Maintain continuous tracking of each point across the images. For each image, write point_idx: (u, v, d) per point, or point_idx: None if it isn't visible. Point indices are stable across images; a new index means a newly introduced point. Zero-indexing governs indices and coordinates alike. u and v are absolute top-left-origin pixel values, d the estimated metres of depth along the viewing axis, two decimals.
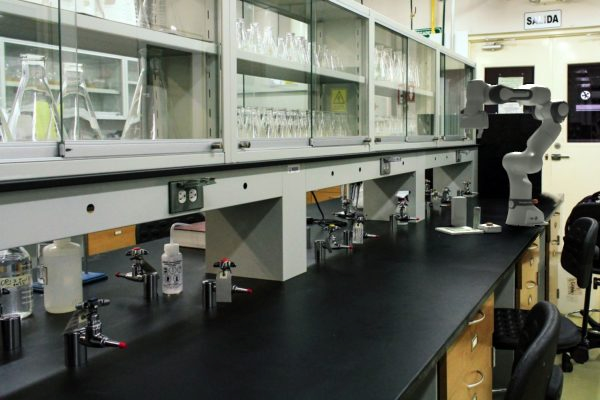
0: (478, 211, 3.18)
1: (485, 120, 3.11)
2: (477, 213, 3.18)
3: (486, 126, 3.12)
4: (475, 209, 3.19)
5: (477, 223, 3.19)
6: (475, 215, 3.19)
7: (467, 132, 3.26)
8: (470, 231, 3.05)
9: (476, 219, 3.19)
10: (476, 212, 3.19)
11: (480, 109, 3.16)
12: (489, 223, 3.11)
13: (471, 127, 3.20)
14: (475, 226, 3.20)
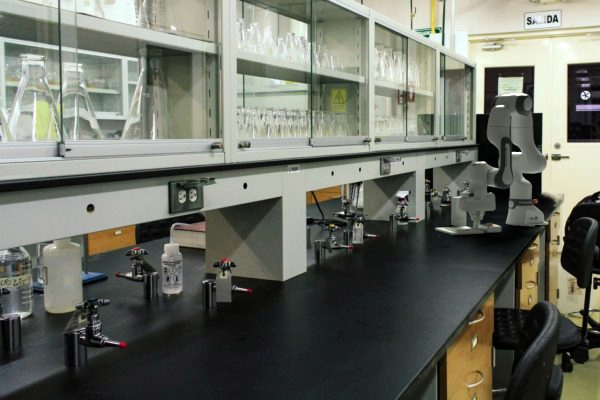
0: (478, 211, 3.18)
1: None
2: (477, 213, 3.18)
3: None
4: None
5: (477, 223, 3.19)
6: (475, 215, 3.19)
7: None
8: (470, 231, 3.05)
9: (476, 219, 3.19)
10: (476, 212, 3.19)
11: None
12: (489, 223, 3.11)
13: (479, 209, 3.18)
14: (475, 226, 3.20)
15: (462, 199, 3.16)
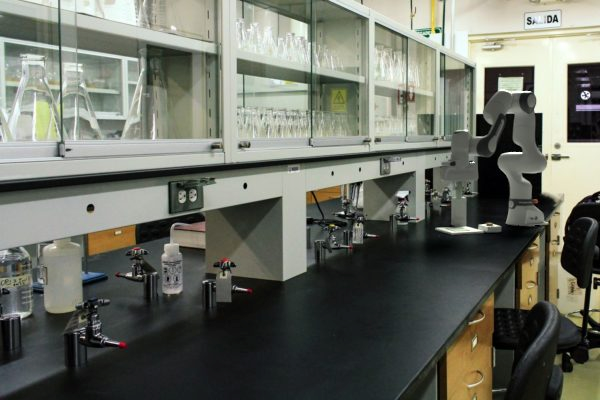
0: (460, 181, 3.06)
1: None
2: (459, 183, 3.06)
3: None
4: None
5: (459, 193, 3.07)
6: (457, 185, 3.07)
7: None
8: (470, 231, 3.05)
9: (458, 189, 3.07)
10: (458, 182, 3.06)
11: None
12: (489, 223, 3.11)
13: (461, 179, 3.06)
14: (457, 197, 3.08)
15: (443, 168, 3.04)
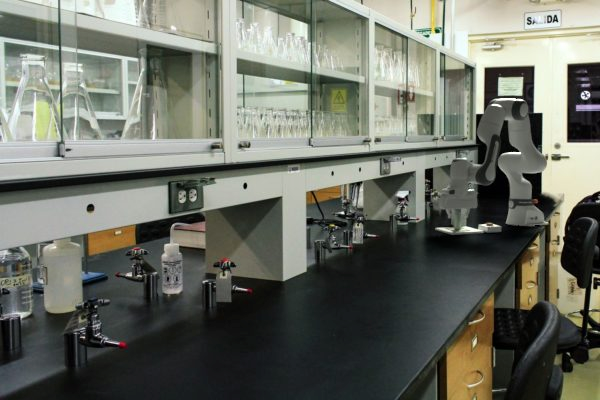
0: (459, 211, 3.08)
1: None
2: (458, 213, 3.08)
3: None
4: (456, 209, 3.09)
5: (458, 224, 3.09)
6: (456, 215, 3.09)
7: None
8: (470, 231, 3.05)
9: (457, 220, 3.09)
10: (457, 212, 3.08)
11: None
12: (489, 223, 3.11)
13: (461, 207, 3.08)
14: (456, 227, 3.09)
15: (442, 196, 3.06)
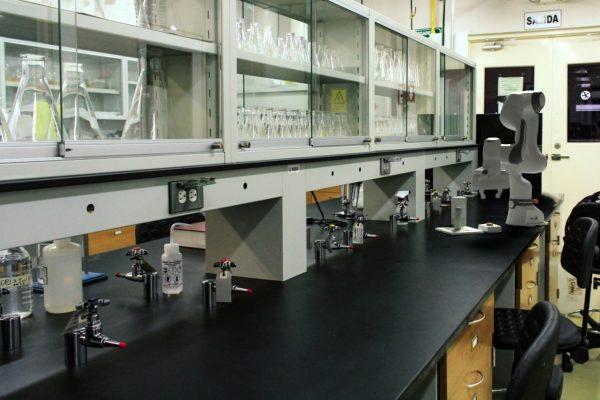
0: (459, 211, 3.08)
1: None
2: (458, 213, 3.08)
3: None
4: (456, 209, 3.09)
5: (458, 224, 3.09)
6: (456, 215, 3.09)
7: None
8: (470, 231, 3.05)
9: (457, 219, 3.09)
10: (457, 212, 3.08)
11: None
12: (489, 223, 3.11)
13: (493, 187, 3.08)
14: (456, 227, 3.09)
15: (475, 177, 3.06)
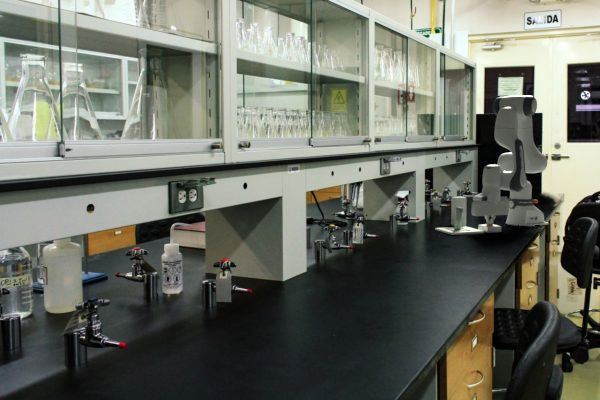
0: (460, 211, 3.08)
1: None
2: (459, 213, 3.08)
3: None
4: (458, 209, 3.08)
5: (459, 224, 3.09)
6: (457, 215, 3.09)
7: None
8: (470, 231, 3.05)
9: (458, 219, 3.09)
10: (458, 212, 3.08)
11: None
12: (489, 224, 3.11)
13: (493, 214, 3.09)
14: (457, 227, 3.09)
15: (475, 203, 3.07)
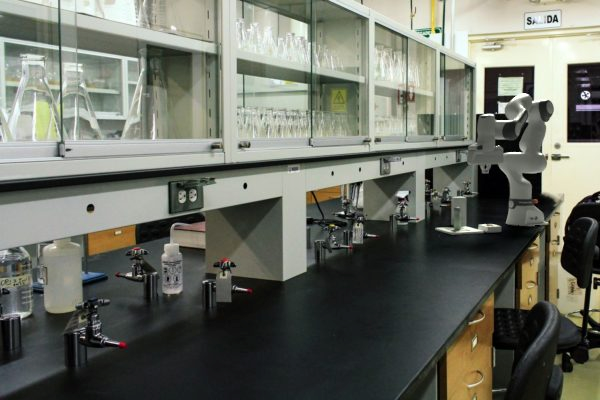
0: (459, 211, 3.08)
1: None
2: (458, 213, 3.08)
3: None
4: (455, 209, 3.08)
5: (458, 224, 3.09)
6: (456, 215, 3.09)
7: None
8: (470, 231, 3.05)
9: (457, 220, 3.08)
10: (457, 212, 3.08)
11: None
12: (489, 224, 3.11)
13: (488, 163, 3.14)
14: (456, 227, 3.09)
15: (470, 152, 3.11)
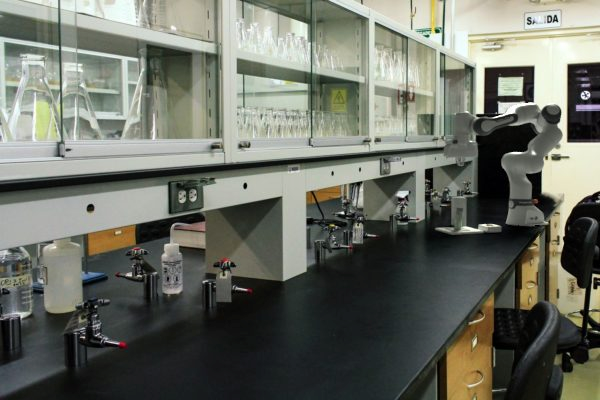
0: (461, 211, 3.08)
1: None
2: (460, 214, 3.08)
3: None
4: (458, 209, 3.08)
5: (459, 224, 3.09)
6: (458, 215, 3.08)
7: None
8: (470, 231, 3.05)
9: (459, 220, 3.08)
10: (459, 212, 3.08)
11: None
12: (489, 224, 3.11)
13: (463, 156, 3.44)
14: (457, 227, 3.09)
15: (447, 146, 3.42)
